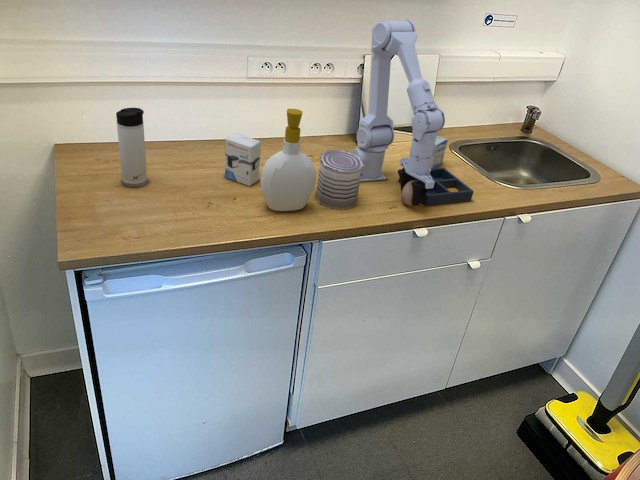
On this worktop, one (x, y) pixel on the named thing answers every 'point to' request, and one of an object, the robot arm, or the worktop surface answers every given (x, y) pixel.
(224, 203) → the worktop surface
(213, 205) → the worktop surface
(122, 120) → the travel mug
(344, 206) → the can
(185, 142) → the worktop surface
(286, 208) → the soap bottle
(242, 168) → the ink box
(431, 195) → the divided tray
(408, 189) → the egg
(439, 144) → the medicine box
